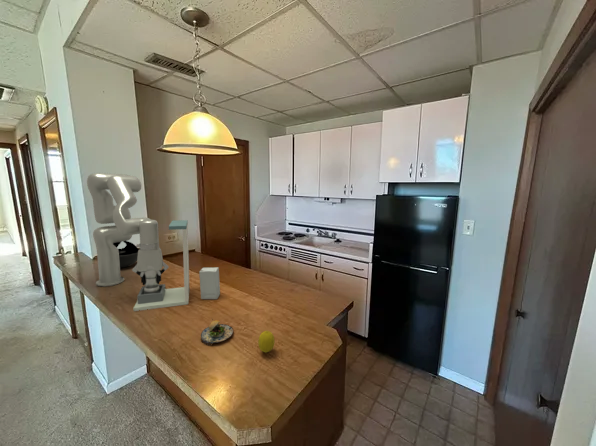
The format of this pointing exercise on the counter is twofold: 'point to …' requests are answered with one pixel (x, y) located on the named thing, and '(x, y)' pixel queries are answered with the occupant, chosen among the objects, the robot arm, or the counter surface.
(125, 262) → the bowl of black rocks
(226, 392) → the counter surface
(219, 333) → the plate of salad
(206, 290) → the skincare box
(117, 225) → the robot arm
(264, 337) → the lemon
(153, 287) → the grey tall bottle shape
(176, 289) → the socket stand
